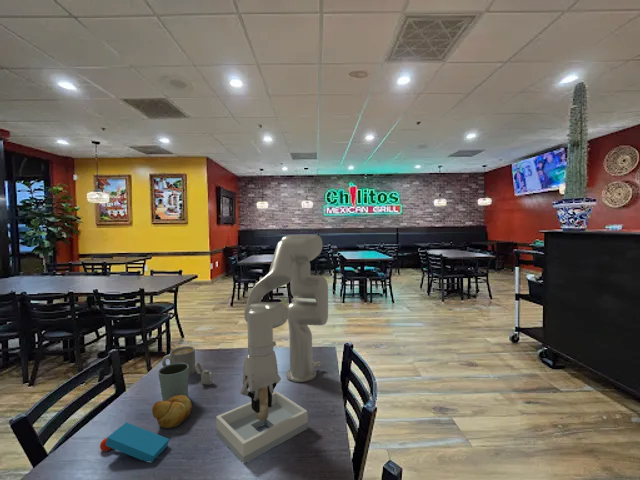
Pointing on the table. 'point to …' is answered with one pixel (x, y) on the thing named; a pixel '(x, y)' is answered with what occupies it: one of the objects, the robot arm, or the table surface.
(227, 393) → the table surface
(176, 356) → the coffee mug
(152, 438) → the lever
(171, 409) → the bread roll
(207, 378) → the lighter
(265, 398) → the peg
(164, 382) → the green cup
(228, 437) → the tray
